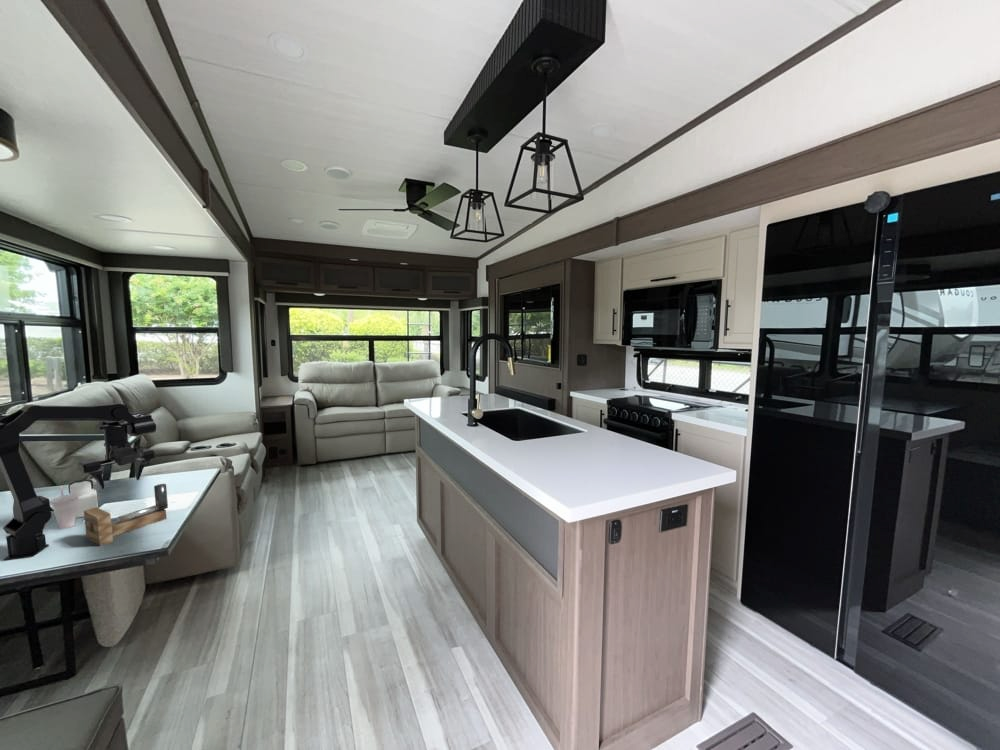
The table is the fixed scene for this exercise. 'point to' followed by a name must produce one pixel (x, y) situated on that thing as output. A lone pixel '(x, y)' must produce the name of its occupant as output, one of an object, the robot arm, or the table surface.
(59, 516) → the smoothie
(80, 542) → the table surface
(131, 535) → the table surface
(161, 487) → the door handle
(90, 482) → the medicine bottle
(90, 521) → the wooden mallet
